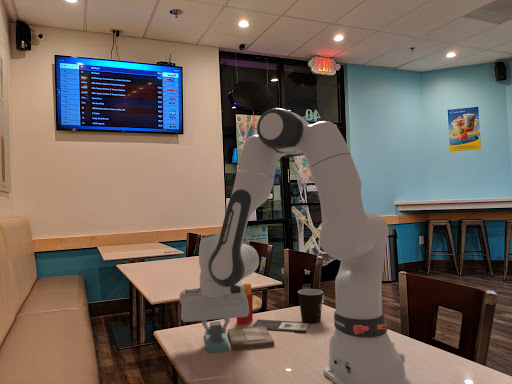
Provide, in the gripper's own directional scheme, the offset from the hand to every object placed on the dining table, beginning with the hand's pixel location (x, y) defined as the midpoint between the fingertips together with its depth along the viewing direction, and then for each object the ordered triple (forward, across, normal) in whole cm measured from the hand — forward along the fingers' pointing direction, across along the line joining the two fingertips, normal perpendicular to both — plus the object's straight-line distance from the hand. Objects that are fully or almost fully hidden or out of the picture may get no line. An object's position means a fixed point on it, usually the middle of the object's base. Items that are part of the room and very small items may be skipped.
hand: (215, 333), depth 114 cm
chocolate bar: (+4, +22, +9) cm, 24 cm away
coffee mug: (+3, +35, +13) cm, 38 cm away
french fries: (+3, +11, +17) cm, 21 cm away
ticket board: (+3, +10, 0) cm, 11 cm away
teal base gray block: (+3, 0, 0) cm, 3 cm away
